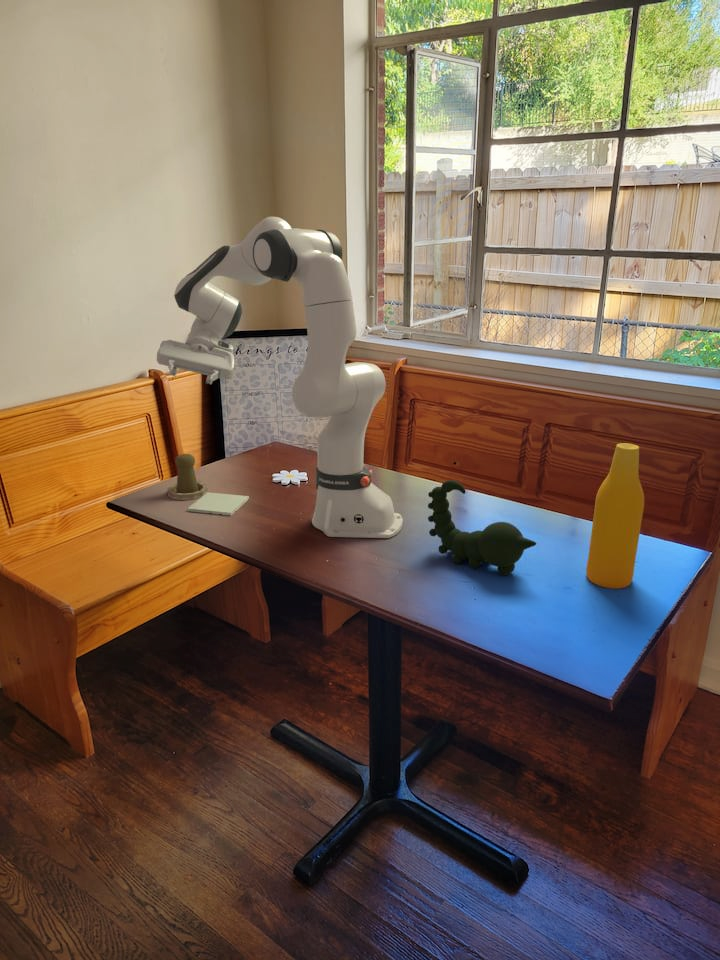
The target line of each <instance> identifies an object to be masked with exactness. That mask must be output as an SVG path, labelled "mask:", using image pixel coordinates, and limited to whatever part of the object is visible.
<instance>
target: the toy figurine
mask: <svg viewBox="0 0 720 960" xmlns="http://www.w3.org/2000/svg"><path fill="white" fill-rule="evenodd" d="M454 490H456V491H459V492H460V493H462V495H464V494H466V489H465V487H464V485H463V484H462V483H460V482H459V481H457V480H454V479H449V480H446V481H444V482H442V484H441V486H436V487H434V488H433V489H432V490H431V491H429V492H428V494H427V495H428V497H429V498H431V499H432V500H431V502H428V505H427V507H428V508H427V509H430V510H432V511H433V512H432V515H429V516H428V517H427V520H428V522H430V523H434V528H431V529H429V531H428V532H429V533H428V534H429V535H430V537H436V536H437V537H438V538H440V540H441V541H440V543H441V545H439V546H438V553H440V554H441V555H444V554H447V553H448V551H450V552H451V554H452V555H453V557H452V562H453V563H454V564H457V565H458V564H459V565H460V564H461V563H462V562H463V561H466V560H468V564H469V567H470V568H473V569H477V568H480V567H481V565H482V563H485V562H487V563H488V564H489V565H491V566H494V567H497V572H498V573H499V574H500V575H502V576H508V575H510V574H512V573H513V572H514V571H515V568H516V565H515V564H516V563H517V562H518V561H520V559H521V558H522V556H523V554H524V551H526V550H527V549H529V548H532V547H534V546H536V545H537V542H536V541H535V540H531V539H528V538H526V537H524V536H523V533H522V532H521V531H520V529H519V528H517V527H516V526H515V525H514V524H512V523H510V522H506V521H498V522H493V523H491V524H489V525H487V526H486V527H485V528H483V530H475V531H472V532H468V531H461V530H460V529H458V528H456V525H455V523H454V522H453V520H452V513H451V511H450V510H449V507H450V501H449V500H448V499H447V497H448V493H451V492H452V491H454Z"/></svg>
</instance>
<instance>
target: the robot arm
mask: <svg viewBox="0 0 720 960" xmlns="http://www.w3.org/2000/svg"><path fill="white" fill-rule="evenodd" d="M216 277H224V278H227V279H228V278H229V279H231V280H234V281H236V282H237V281H238V282H240V283H242V284H244V285H249V286H261V285H265V284H267V283H269V281H271V280H272V279H274V280H277V281H282V282H285V283H286V282H289V281H290V279H293V280H296V282H298V283H299V285H300V287H301V292H302V300H303V308H304V315H305V323H306V331H307V352H306V357H305V361H304V364H303V367H302V369H301V372H300V373H299V375H298V376H297V377H296V379H295V380H294V382H293V384H292V387H291V399H292V402H293V405H294V406H295V409H296V410H297V411H298V413H300V414H301V415H303V416H304V417H306V418H327V417H329V419H328V421H327V423H326V425H325V426H324V427H323V429H322V430H321V431H320V433H319V434H318V436H317V437H318V438H317V441H316V442H317V443H316V444H317V445H316V446H317V466H316V468H315V486H316V487H315V489H316V501H315V508H314V513H313V516H312V519H311V523H312V526H313V527H314V528H315V529H318V530H320V531H321V532H323V533H324V534H325V535H326V536H327V537H330V538H360V539H361V538H362V539H363V538H364V539H365V538H366V539H367V538H369V539H371V538H372V539H390V538H392V537H394V536H396V535H397V534H398V533H399V532H400V531H401V530H402V528H403V525H404V521H403V516H402V515H401V514H400V513H398V512H395V509H394V504H393V500H392V497H390V496H389V495H388V494H387V493H385V492H384V491H383V490H382V489H380V488H379V487H377V486H376V485H375V484H374V483H373V482H372V475H373V470H372V469H370V470H368V469H367V468H366V467H365V466H364V451H365V436H366V432H367V428H368V425H369V421H370V419H371V417H372V413H373V411H374V410H375V407H376V405H377V404H378V403H379V402H380V400H381V399H382V398H383V396H384V395H385V393H386V385H387V384H386V378H385V375H384V373H383V371H382V369H381V368H380V367H379V366H377V364H374V363H371V362H370V363H369V362H362V361H361V362H360V361H355V362H350V363H349V362H348V363H346V357H347V354H348V353H347V352H348V349H349V347H350V346H351V344H353V342H354V341H355V340H356V337H357V326H356V317H355V316H356V315H355V310H354V303H353V297H352V296H353V295H352V289H351V286H350V280H349V277H348V274H347V270H346V267H345V263H344V262H343V248H342V244H341V242H340V240H339V238H338V237H337V236H336V235H335V234H334V233H333V232H330V231H327V230H324V229H307V228H306V229H304V228H299V227H298V228H297V227H295V228H294V227H293V228H292V226H291V225H290V224H289V223H288V222H287V221H286V220H285V219H283V218H281V217H278V216H268V217H265V218H264V219H262V220H261V221H259V222H258V223H257V224H256V225H255V226H254V227H253V228H252V229H251V230H250V231H249V232H248V234H246V236H245V237H244V239H243V240H242V241H241V242H240V243H237V244H235V245H223V246H220V247H219V248H217V250H215V251H213V252H212V254H210V255H209V256H208V257H207V258H205V260H204V261H203V262H202V263H200V264H198V266H197V267H195V269H194V270H192V271H191V272H190V273H188V274H186V275H185V276H184V277H183V278H182V279H181V280H180V281H179V282H178V283H177V285H176V287H175V290H174V294H173V297H174V299H175V302H176V305H177V307H178V308H179V309H181V310H183V311H185V312H187V313H190V314H192V315H193V316H196V317H195V319H194V321H193V323H192V324H191V328H190V331H189V333H188V334H187V338H186V340H185V342H181V341H177V340H172V339H167V340H162V341H161V343H160V345H159V348H158V350H157V352H156V362H157V363H158V365H162V366H166V367H168V370H169V375H170V376H172V377H176V375H177V370H178V369H179V370H184V371H188V372H192V373H196V374H201V375H204V376H206V378H205V379H206V380H205V384H208V385H212V384H213V382H214V381H216V380H218V379H223V380H227V381H229V380H231V379H232V378H233V375H234V368H235V356H234V346H233V345H231V344H229V343H227V342H225V341H223V340H222V339H225V338H228V337H229V336H231V335H232V334H233V333H234V332H235V331H236V329H237V328H238V325H239V323H240V320H241V317H242V314H243V307H242V303H241V301H240V300H239V299H237V298H236V297H234V296H232V295H231V294H229V293H228V292H226V291H223V290H222V289H220V288H219V287H218V286H215V285H214V284H212V283H211V281H212V279H214V278H216Z"/></svg>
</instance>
